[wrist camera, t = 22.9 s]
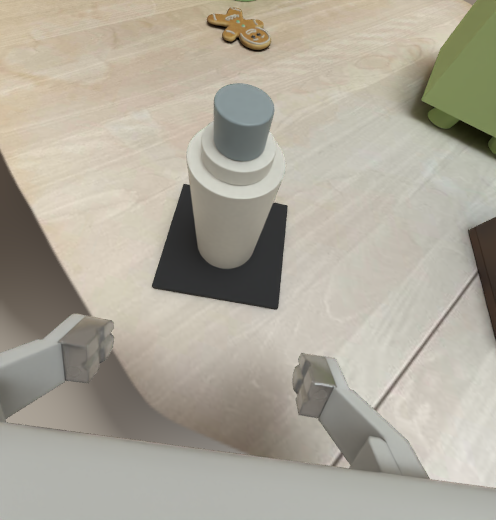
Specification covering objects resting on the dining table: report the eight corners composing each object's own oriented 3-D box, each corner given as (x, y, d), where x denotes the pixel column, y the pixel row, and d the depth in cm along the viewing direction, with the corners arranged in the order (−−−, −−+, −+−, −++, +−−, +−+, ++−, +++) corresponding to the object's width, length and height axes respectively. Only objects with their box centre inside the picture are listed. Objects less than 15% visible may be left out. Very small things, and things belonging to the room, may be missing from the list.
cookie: (239, 1, 38) (285, 33, 36) (238, 9, 39) (283, 41, 37) (199, 14, 35) (247, 50, 33) (200, 22, 36) (246, 58, 34)
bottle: (250, 273, 22) (303, 164, 9) (191, 263, 21) (162, 133, 9) (257, 223, 24) (308, 78, 11) (204, 212, 23) (195, 50, 11)
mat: (276, 309, 21) (278, 308, 21) (153, 288, 20) (151, 286, 20) (286, 208, 26) (287, 205, 25) (184, 187, 25) (183, 183, 24)
